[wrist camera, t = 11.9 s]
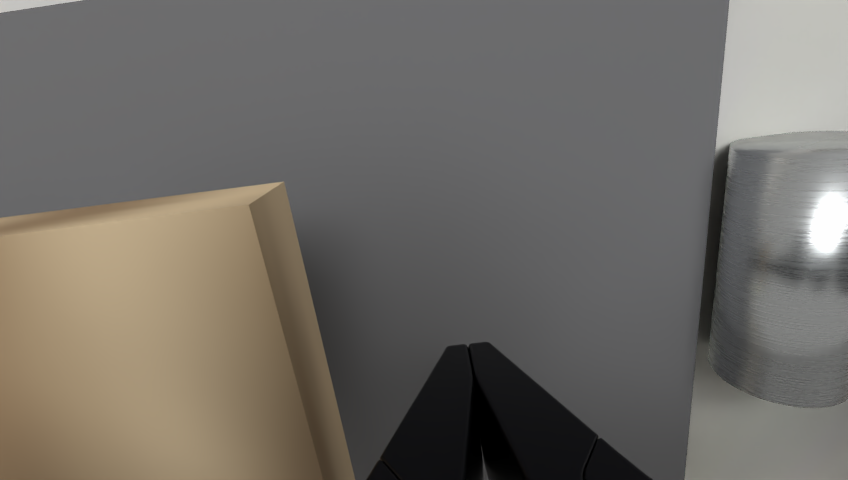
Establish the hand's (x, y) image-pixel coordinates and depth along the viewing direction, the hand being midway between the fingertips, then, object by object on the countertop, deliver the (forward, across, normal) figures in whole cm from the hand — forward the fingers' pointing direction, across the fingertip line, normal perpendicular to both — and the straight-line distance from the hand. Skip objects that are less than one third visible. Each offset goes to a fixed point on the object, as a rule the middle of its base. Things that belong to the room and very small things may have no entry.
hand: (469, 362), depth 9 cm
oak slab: (0, +8, 0) cm, 8 cm away
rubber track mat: (+4, +8, 0) cm, 9 cm away
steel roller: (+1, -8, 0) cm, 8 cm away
